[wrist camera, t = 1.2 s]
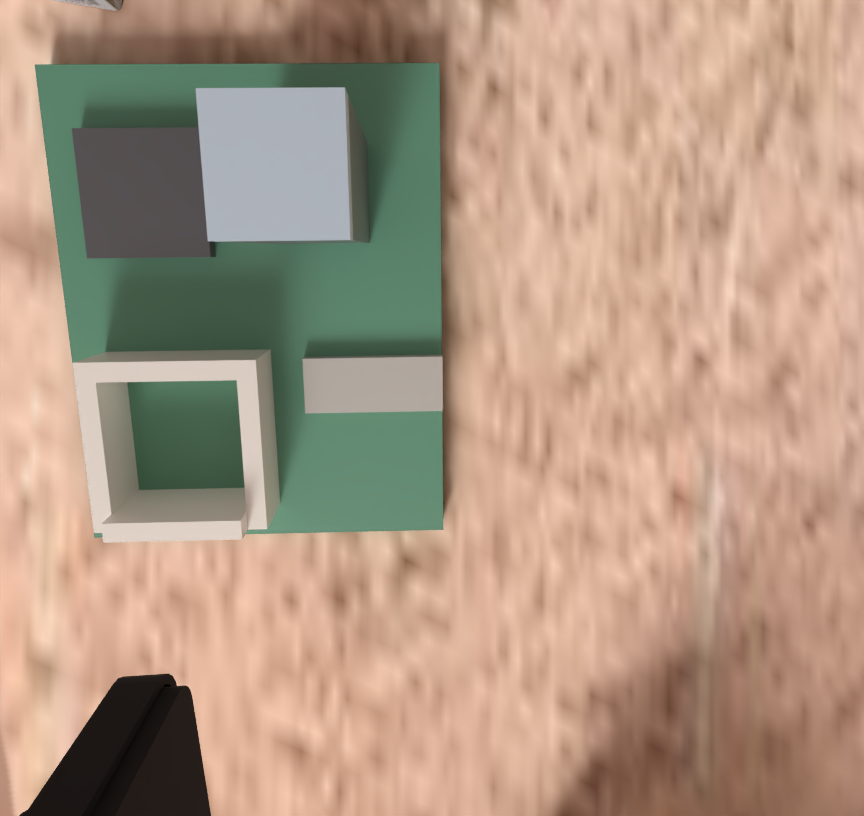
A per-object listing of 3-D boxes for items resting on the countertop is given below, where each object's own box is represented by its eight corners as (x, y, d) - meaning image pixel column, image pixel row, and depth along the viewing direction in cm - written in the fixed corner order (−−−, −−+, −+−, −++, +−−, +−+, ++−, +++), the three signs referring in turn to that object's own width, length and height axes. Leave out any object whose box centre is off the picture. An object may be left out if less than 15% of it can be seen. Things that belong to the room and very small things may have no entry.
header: (105, 351, 30) (60, 367, 26) (270, 349, 30) (249, 363, 26) (123, 507, 32) (82, 543, 28) (280, 503, 32) (262, 539, 28)
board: (49, 72, 29) (23, 59, 27) (438, 70, 29) (440, 57, 27) (105, 527, 33) (86, 544, 31) (442, 519, 34) (444, 536, 32)
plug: (268, 143, 29) (195, 88, 19) (366, 142, 29) (344, 87, 19) (274, 244, 29) (207, 241, 20) (369, 242, 30) (350, 239, 20)
